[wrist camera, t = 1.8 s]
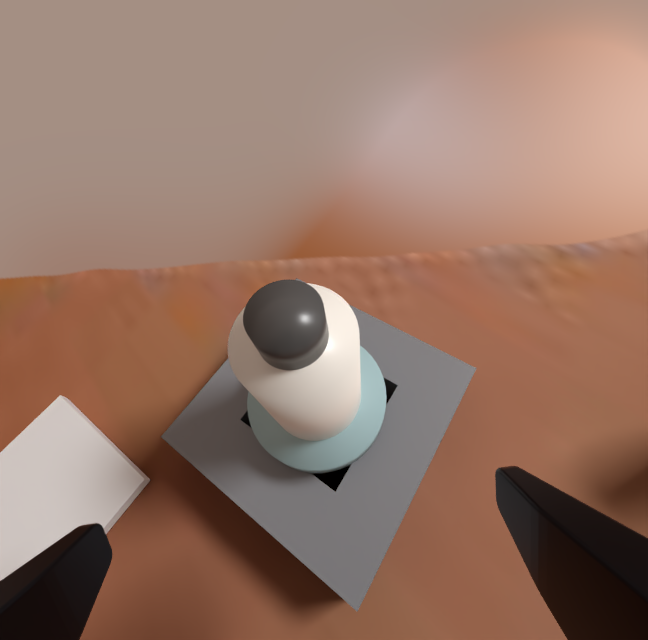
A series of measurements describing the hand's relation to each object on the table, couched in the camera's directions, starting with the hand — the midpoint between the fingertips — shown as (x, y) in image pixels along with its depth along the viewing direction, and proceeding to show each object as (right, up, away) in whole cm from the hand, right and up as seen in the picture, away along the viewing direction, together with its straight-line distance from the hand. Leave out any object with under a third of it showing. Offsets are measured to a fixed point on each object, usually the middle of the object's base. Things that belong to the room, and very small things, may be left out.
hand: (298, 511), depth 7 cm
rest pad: (-16, -6, +12) cm, 21 cm away
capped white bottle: (+1, -2, +12) cm, 13 cm away
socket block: (+1, -2, +12) cm, 13 cm away
